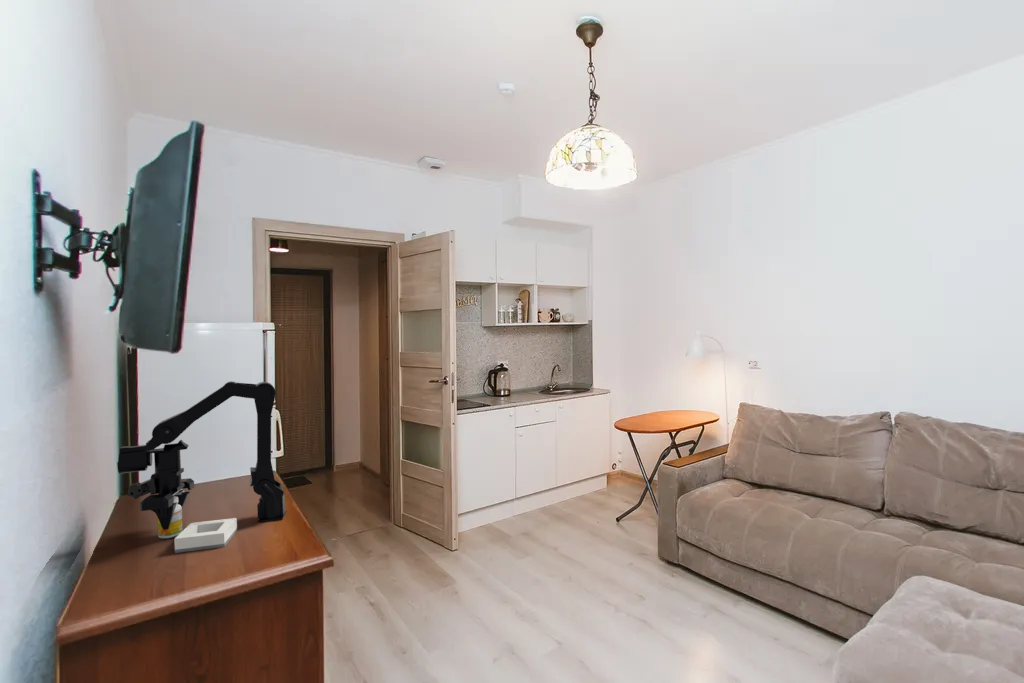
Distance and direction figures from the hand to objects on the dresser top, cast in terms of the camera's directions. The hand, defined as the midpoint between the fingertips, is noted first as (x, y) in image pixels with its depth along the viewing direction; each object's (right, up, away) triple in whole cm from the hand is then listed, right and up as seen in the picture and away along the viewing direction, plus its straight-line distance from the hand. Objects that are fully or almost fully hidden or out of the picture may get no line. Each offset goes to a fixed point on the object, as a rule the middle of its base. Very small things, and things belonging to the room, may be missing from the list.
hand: (170, 525), depth 131 cm
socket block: (+12, -3, -4) cm, 13 cm away
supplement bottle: (0, -3, 0) cm, 3 cm away
